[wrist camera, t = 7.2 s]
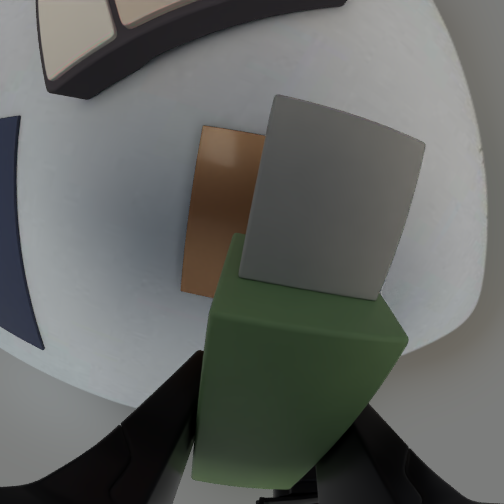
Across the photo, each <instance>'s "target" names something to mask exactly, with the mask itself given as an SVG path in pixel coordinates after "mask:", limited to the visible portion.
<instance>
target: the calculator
mask: <svg viewBox="0 0 504 504" xmlns="http://www.w3.org/2000/svg"><path fill="white" fill-rule="evenodd" d="M346 1H347V0H36V18H37V31H38V41H39V49H40V56H41V62H42V68H43V74H44V79H45V84H46V89H47V91H48V92H49V93H53V94H58V95H64V96H70V97H75V98H80V99H90V98H91V97H93V96H95V95H96V94H98V93H99V92H101V91H102V90H104V89H105V88H107V87H109V86H110V85H112V84H114V83H115V82H117V81H119V80H120V79H122V78H124V77H126V76H128V75H129V74H131V73H133V72H135V71H137V70H138V69H140V68H141V67H143V66H144V65H145V64H146V63H147V62H148V61H149V60H150V59H152V58H153V57H155V56H157V55H159V54H161V53H163V52H165V51H167V50H170V49H172V48H174V47H176V46H179V45H181V44H184V43H186V42H189V41H191V40H194V39H196V38H199V37H202V36H204V35H207V34H210V33H213V32H216V31H219V30H222V29H225V28H228V27H231V26H235V25H238V24H242V23H245V22H249V21H253V20H257V19H261V18H265V17H270V16H274V15H279V14H284V13H290V12H295V11H302V10H309V9H316V8H325V7H336V6H342V5H344V4H345V3H346Z"/></svg>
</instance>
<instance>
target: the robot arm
mask: <svg viewBox="0 0 504 504" xmlns="http://www.w3.org/2000/svg"><path fill="white" fill-rule="evenodd" d="M203 354H204V351H201V350H198V351H197V352H195V353H194V354H193V355H192V356H191V357H190V358H189V359H188V360H187V361H186V362H185V363H184V364H183V365H182V366H181V367H180V368H179V369H178V370H177V371H176V372H175V373H174V374H173V375H172V376H171V377H170V378H169V379H168V380H167V381H166V382H164V383H163V384H162V385H161V386H160V387H159V388H158V389H157V390H156V391H155V392H154V393H153V394H152V395H151V396H150V397H149V398H148V399H147V400H145V401H144V402H143V403H142V404H141V405H140V406H139V407H138V408H137V409H136V410H135V411H134V412H133V413H131V414H130V415H129V416H128V417H127V418H126V419H125V420H124V421H123V422H122V423H121V425H118V426H117V427H116V428H115V429H114V430H113V431H112V432H111V433H109V434H108V435H107V436H106V437H105V438H103V439H102V440H101V441H100V442H98V443H97V444H96V445H95V446H93V447H92V448H91V449H89V450H88V451H86V452H85V453H83V454H82V455H80V456H79V457H77V458H76V459H74V460H72V461H71V462H69V463H68V464H66V465H64V466H63V467H61V468H59V469H58V470H56V471H54V472H52V473H51V474H49V475H48V476H46V477H44V478H42V479H40V480H38V481H35V482H33V483H29V484H25V485H20V486H10V487H0V504H172V503H173V500H174V498H175V495H176V492H177V489H178V486H179V483H180V480H181V477H182V475H183V472H184V469H185V466H186V463H187V460H188V457H189V454H190V452H191V449H192V446H193V443H194V439H195V428H196V418H197V408H198V398H199V389H200V380H201V371H202V363H203ZM256 504H498V503H481V502H475V501H472V500H469V499H467V498H466V497H464V496H463V495H461V494H460V493H459V492H458V491H456V490H455V489H454V488H453V487H451V486H450V485H449V484H448V483H446V482H445V481H444V480H442V479H441V478H440V477H439V476H438V475H437V474H436V473H435V472H433V471H432V470H431V469H430V468H429V467H428V466H427V465H426V464H425V463H424V462H423V461H422V460H421V459H420V458H419V457H418V456H417V455H416V454H415V453H414V452H413V451H412V450H411V449H408V446H407V445H406V443H404V441H403V440H402V439H401V438H400V437H399V436H398V435H397V434H396V433H395V432H394V430H392V428H391V427H390V426H389V425H388V424H387V423H386V422H385V421H384V420H383V419H382V418H381V416H380V415H379V414H378V413H377V412H376V411H375V410H374V409H373V408H372V407H371V406H370V405H369V403H368V404H367V406H366V407H365V408H364V409H363V411H362V412H361V413H360V415H359V416H358V417H357V418H356V420H355V421H354V422H353V423H352V425H351V426H350V427H349V428H348V429H347V431H346V432H345V433H344V434H343V435H342V436H341V438H340V439H339V440H338V441H337V442H336V443H335V444H334V445H333V447H332V448H331V449H330V450H329V451H328V452H327V453H326V454H325V455H324V456H323V457H322V458H321V459H320V460H319V461H318V462H317V463H316V464H315V465H314V466H313V467H312V468H311V469H310V470H309V471H308V472H307V473H306V474H305V475H304V476H303V477H302V478H301V479H300V480H299V481H298V482H297V483H296V484H294V485H293V486H292V487H291V488H290V489H273V498H264V497H260V499H259V500H257V501H256Z"/></svg>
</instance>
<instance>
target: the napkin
mask: <svg viewBox="0 0 504 504" xmlns="http://www.w3.org/2000/svg"><path fill="white" fill-rule="evenodd" d="M19 124H20V116H13V117H7V118H1V119H0V327H2V328H4V329H5V330H7V331H9V332H10V333H12V334H14V335H15V336H17V337H19V338H21V339H23V340H24V341H26V342H28V343H30V344H32V345H34V346H36V347H37V348H39V349H41V350H44V349H45V348H44V345H43V342H42V339H41V336H40V333H39V330H38V327H37V323H36V320H35V316H34V312H33V309H32V305H31V301H30V296H29V292H28V288H27V283H26V278H25V273H24V267H23V261H22V255H21V247H20V239H19V230H18V219H17V202H16V160H17V144H18V132H19Z"/></svg>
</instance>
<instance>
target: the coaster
mask: <svg viewBox="0 0 504 504" xmlns="http://www.w3.org/2000/svg"><path fill="white" fill-rule="evenodd" d="M264 141H265V136H263V135H258V134H253V133H248V132H242V131H236V130H230V129H224V128H217V127H211V126H203V128H202V133H201V138H200V144H199V150H198V155H197V161H196V167H195V174H194V180H193V187H192V193H191V201H190V208H189V215H188V223H187V231H186V240H185V249H184V259H183V269H182V280H181V291H183V292H187V293H192V294H197V295H201V296H206V297H211V298H214V295H215V291H216V288H217V285H218V282H219V278H220V275H221V272H222V269H223V265H224V262H225V259H226V256H227V253H228V249H229V246H230V243H231V240H232V237H233V235H234V233H241V234H246V230H247V225H248V220H249V215H250V210H251V205H252V200H253V195H254V190H255V185H256V180H257V175H258V170H259V165H260V160H261V156H262V151H263V146H264Z"/></svg>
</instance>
